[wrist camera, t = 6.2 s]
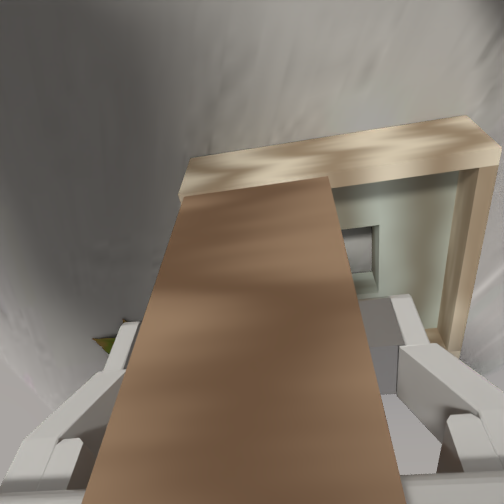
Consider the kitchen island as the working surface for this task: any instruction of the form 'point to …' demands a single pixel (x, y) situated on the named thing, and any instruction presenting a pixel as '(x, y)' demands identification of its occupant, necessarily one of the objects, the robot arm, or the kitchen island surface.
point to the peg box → (391, 205)
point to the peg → (250, 365)
